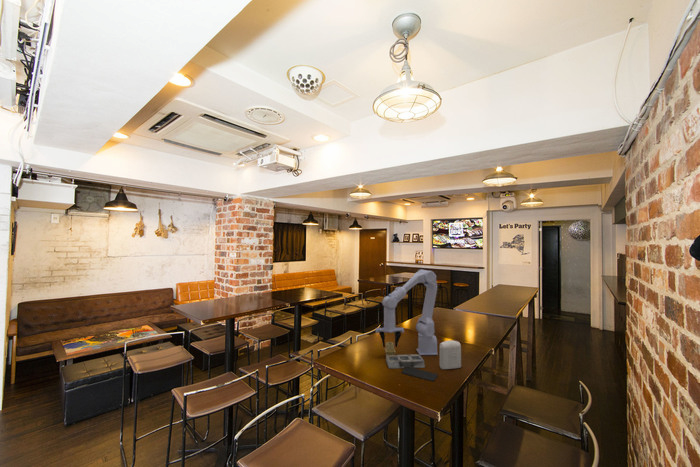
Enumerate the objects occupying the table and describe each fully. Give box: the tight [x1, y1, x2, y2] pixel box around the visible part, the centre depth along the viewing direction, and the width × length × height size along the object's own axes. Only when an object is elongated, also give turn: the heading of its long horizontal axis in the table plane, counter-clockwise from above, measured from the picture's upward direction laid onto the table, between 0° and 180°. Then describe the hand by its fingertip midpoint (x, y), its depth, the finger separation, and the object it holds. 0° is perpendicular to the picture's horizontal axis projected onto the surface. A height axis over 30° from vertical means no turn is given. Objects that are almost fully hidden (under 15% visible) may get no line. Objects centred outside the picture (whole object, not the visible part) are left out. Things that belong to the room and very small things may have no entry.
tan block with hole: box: [384, 341, 397, 356], centre depth 144 cm, size 5×5×7 cm
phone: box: [401, 367, 439, 382], centre depth 126 cm, size 7×1×15 cm
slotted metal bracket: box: [385, 353, 425, 369], centre depth 136 cm, size 17×8×3 cm, turn 92°
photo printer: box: [438, 340, 462, 370], centre depth 132 cm, size 10×4×12 cm, turn 103°
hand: (390, 346), depth 145 cm, fingers open, 6 cm apart
